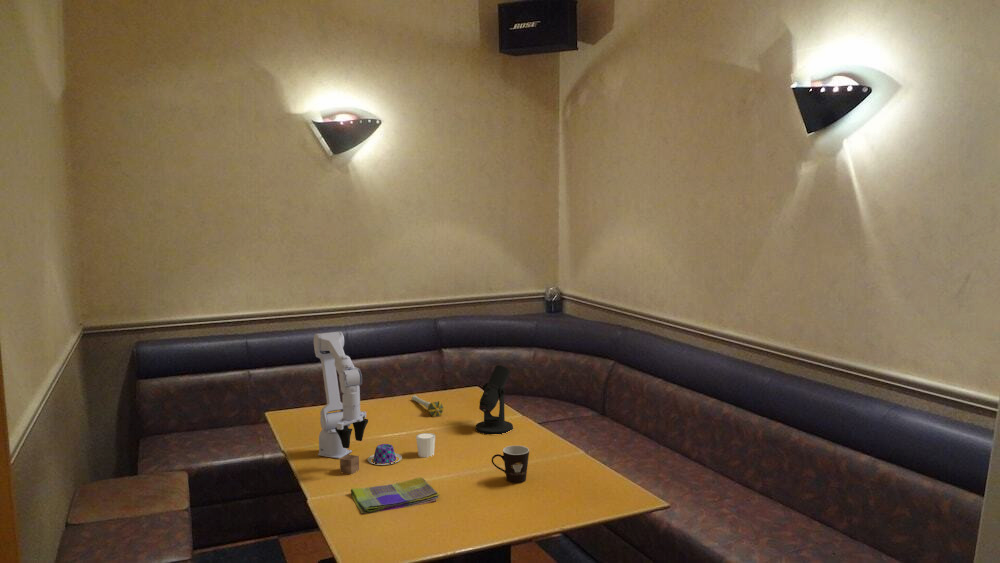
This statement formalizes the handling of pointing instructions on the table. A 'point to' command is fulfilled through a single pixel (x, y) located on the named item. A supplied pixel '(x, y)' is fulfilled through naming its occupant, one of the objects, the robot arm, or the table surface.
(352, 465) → the walnut block
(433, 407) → the light stick
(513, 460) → the coffee mug
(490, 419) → the microphone
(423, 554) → the table surface
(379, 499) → the dish towel
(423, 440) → the white tapered cup
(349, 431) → the robot arm
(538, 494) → the table surface
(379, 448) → the pudding
